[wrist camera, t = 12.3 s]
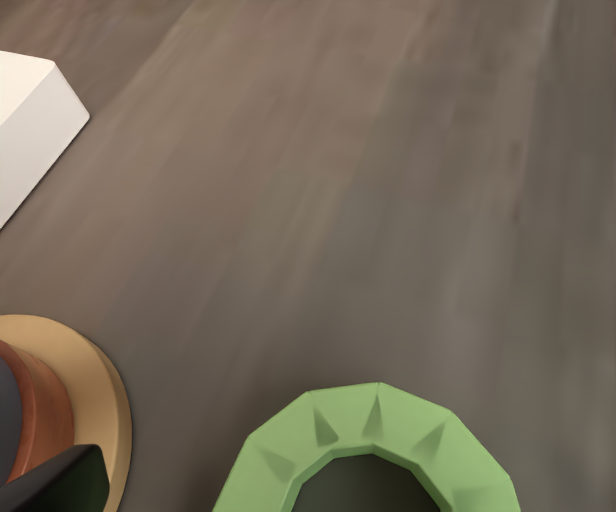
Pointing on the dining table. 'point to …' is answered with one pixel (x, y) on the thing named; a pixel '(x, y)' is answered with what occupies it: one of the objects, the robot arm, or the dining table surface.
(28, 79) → the holder
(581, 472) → the dining table surface
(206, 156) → the dining table surface
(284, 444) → the green ring
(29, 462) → the ring stand
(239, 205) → the dining table surface
